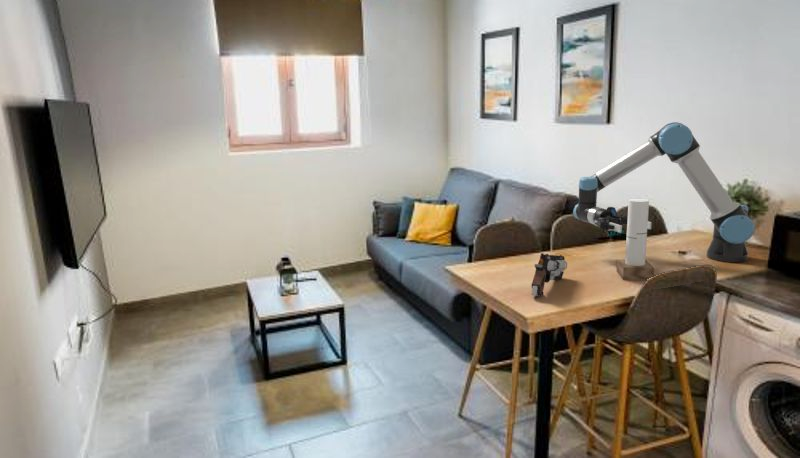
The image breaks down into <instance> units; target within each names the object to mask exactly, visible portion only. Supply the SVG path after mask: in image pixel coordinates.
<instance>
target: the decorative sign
mask: <svg viewBox="0 0 800 458" xmlns="http://www.w3.org/2000/svg"><path fill="white" fill-rule="evenodd" d="M606 210H610V211H611V212H612V213H613V214H614V215H617V216H618V212H617V211H616V207H613V206H608V207H607V208H606ZM619 223H621V221H620V222H619ZM604 229H605V228H603V231H604ZM607 232H608V234H609V237H608V238H612V237H618V236H622V235H623V234H624V233H625V234H626V232H625V228H623V227H622V233H619V232H616V231H613V230H610V229H608V231H607ZM621 234H622V235H621ZM623 236H624V235H623Z"/></svg>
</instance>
